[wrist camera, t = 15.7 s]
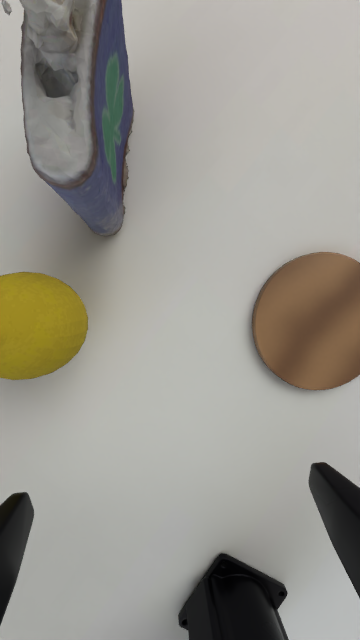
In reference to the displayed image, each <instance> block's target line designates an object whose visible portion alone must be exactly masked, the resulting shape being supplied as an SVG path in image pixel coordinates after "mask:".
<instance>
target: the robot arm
mask: <svg viewBox="0 0 360 640" xmlns="http://www.w3.org/2000/svg"><path fill="white" fill-rule="evenodd" d="M309 487H310V490H311V493H312V495H313V498H314V500H315V503H316V505H317V508H318V510H319V513H320V515H321V518H322V520H323V523H324V525H325V528H326V530H327V532H328V535H329V537H330V540H331V542H332V544H333V546H334V548H335V550H336V552H337V554H338V556H339V558H340V560H341V562H342V564H343V566H344V568H345V570H346V572H347V574H348V576H349V578H350V580H351V582H352V584H353V586H354V588H355V590H356V592H357V594H358V596H359V598H360V488H359V487H358V486H356V485H355V484H354V483H352V482H351V481H350V480H348V479H347V478H346V477H344V476H343V475H342V474H340V473H339V472H338V471H336V470H335V469H334V468H332V467H331V466H330V465H328V464H327V463H324V462H320V463H313V464H312V465H311V470H310V476H309ZM33 518H34V509H33V506H32V503H31V500H30V497H29V494H28V493H27V492H22V493H14V494H12V495H11V496H10V497H8V498H7V499H6V500H5V501H4V502H3V503H2V504H1V505H0V625H1V622H2V619H3V617H4V614H5V611H6V608H7V606H8V603H9V600H10V597H11V595H12V592H13V589H14V586H15V583H16V580H17V577H18V573H19V570H20V566H21V562H22V559H23V555H24V551H25V548H26V544H27V540H28V537H29V533H30V529H31V526H32V522H33ZM224 561H225V562H224ZM286 596H287V590H286V588H285V586H284V584H282V583H281V582H279V581H277V580H275V579H273V578H271V577H269V576H267V575H265V574H263V573H262V572H260V571H258V570H256V569H254V568H252V567H250V566H248V565H246V564H244V563H242V562H241V561H239V560H237V559H235V558H233V557H231V556H229V555H227V554H220V555H219V556H218V557H217V559H216V560H215V561H214V563H213V564H212V566H211V567H210V569H209V570H208V572H207V573H206V575H205V576H204V578H203V579H202V581H201V582H200V584H199V585H198V587H197V588H196V590H195V591H194V593H193V594H192V596H191V597H190V598H189V600H188V601H187V603H186V604H185V606H184V607H183V609H182V610H181V612H180V613H179V616H178V617H179V625H180V626H181V627H182V628H184V629H186V630H188V632H189V640H289V639H288V637H287V634H286V631H285V629H284V626H283V624H282V621H281V618H280V616H279V613H278V610H277V609H278V608H279V607H280V605H281V604H282V602H283V601H284V599H285V598H286Z"/></svg>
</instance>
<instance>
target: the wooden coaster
mask: <svg viewBox="0 0 360 640" xmlns="http://www.w3.org/2000/svg"><path fill="white" fill-rule="evenodd" d="M252 329H253V337H254V341H255V345H256V348H257V350H258V353H259V355H260V357H261V358H262V360H263V362H264V363H265V364H266V366H267V367H268V368H269V369H270V370H271V371H272V372H273V373H274V374H275V375H277V376H278V377H279V378H281V379H282V380H284V381H285V382H287V383H289V384H291V385H294V386H296V387H299V388H303V389H309V390H325V389H331V388H335V387H338V386H341V385H343V384H345V383H347V382H349V381H351V380H353V379H354V378H356V377H357V376H358V375H360V263H359V262H357V261H356V260H354V259H352V258H350V257H348V256H345V255H342V254H338V253H331V252H318V253H311V254H307V255H304V256H300V257H298V258H295V259H293V260H291V261H289V262H288V263H286V264H284V265H283V266H282V267H280V268H279V269H278V270H277V271H275V273H274V274H273V275H272V276H271V277H270V278H269V279H268V280H267V282H266V283H265V284H264V286H263V288H262V290H261V291H260V293H259V296H258V298H257V300H256V304H255V307H254V312H253V319H252Z"/></svg>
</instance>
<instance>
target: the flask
mask: <svg viewBox="0 0 360 640" xmlns="http://www.w3.org/2000/svg"><path fill="white" fill-rule="evenodd" d="M20 2H21V4H22V6H23V8H24V21H23V24H22V26H21V29H22V43H21V76H22V79H21V86H22V101H23V109H24V128H25V137H26V141H27V153H28V154H29V156H30V160H31V164H32V166H33V169H34V170H35V172H36V173H37V174H38V175H39V176H40V178H42V179H43V180H44V181H45V182H46V183H47V184H48V185H49V186H51V187H52V188H53V189H54V190H55V191H56V192H57V193H58V194H59V195H60V196H61V197H62V198H63V199H64V200H65V201H66V202H67V203H68V204H69V206H70V207H71V208H72V209H73V210H74V211H75V212H76V213H77V214H78V215H79V216H80V217H81V218H82V219H83V220H84V221H85V222H86V223H87V224H88V226H89V227H90V228H91V229H92V231H94V232H95V233H97V234H100V235H104V236H108V235H113V234H116V233H117V232H118V231H119V230H120V228H121V225H122V222H123V216H124V214H125V207H124V205H123V196H124V191H125V190H124V189H125V187H126V186H127V179H128V178H129V177H128V168H127V167H128V166H126V165H127V163H126V160H125V156H126V152H129V151H130V150H129V147H128V137H129V135H130V133H132V131H131V127H132V123H133V116H134V109H133V104H132V97H131V89H130V80H129V69H128V55H127V51H126V45H125V35H124V24H123V16H122V3H121V0H20ZM2 5H3V8H4V11H5V13H7V14H8V15H10V13H11V11H12V10H11V7H10V5H9V4H8V3H7V2H6V1H5V0H2Z"/></svg>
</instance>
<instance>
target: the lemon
mask: <svg viewBox="0 0 360 640" xmlns="http://www.w3.org/2000/svg"><path fill="white" fill-rule="evenodd" d="M87 330H88V317H87V313H86V309H85V306H84V304H83V302H82V301H81V299H80V297H79V296H78V295H77V293H76V292H75V291H74V290H73V289H72V288H71V287H70V286H68V285H66V284H65V283H63V282H62V281H60V280H59V279H56V278H54V277H51V276H48V275H45V274H41V273H31V272H19V273H12V274H6V275H2V276H0V378H5V379H11V380H19V379H32V378H36V377H39V376H43V375H46V374H49V373H52V372H54V371H55V370H57V369H59V368H60V367H62V366H64V365H65V364H67V363H68V362H69V361H70V360H71V359H72V358H73V357H74V356H75V355H76V354H77V353H78V351H79V350H80V348H81V346H82V344H83V343H84V341H85V338H86V334H87Z"/></svg>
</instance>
